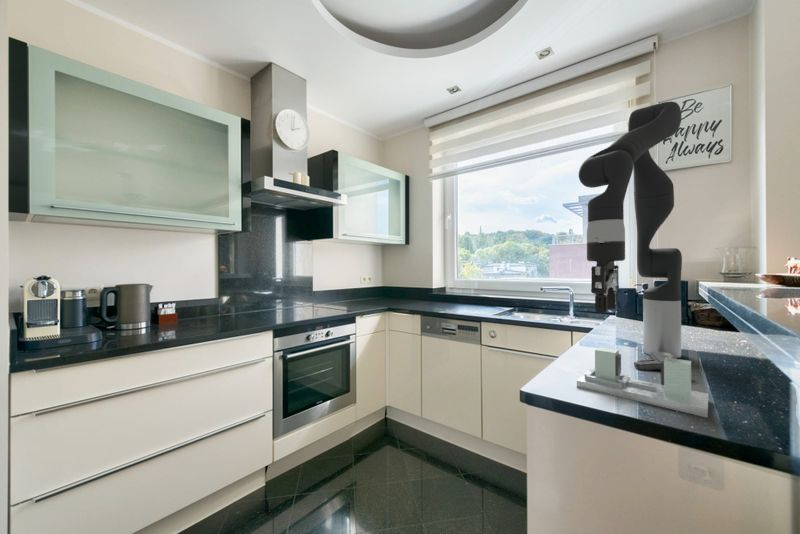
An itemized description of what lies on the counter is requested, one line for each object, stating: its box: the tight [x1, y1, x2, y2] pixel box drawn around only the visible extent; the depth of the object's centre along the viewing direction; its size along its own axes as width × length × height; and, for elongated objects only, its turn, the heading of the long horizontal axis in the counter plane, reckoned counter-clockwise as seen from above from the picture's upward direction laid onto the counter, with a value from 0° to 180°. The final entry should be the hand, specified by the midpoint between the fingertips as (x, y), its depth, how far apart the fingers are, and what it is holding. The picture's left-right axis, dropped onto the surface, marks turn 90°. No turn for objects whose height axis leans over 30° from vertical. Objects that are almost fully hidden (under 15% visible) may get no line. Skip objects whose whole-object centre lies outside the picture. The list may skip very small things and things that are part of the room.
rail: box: [576, 357, 709, 418], centre depth 70 cm, size 10×22×8 cm, turn 45°
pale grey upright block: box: [594, 346, 622, 381], centre depth 74 cm, size 4×4×7 cm
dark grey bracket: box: [633, 352, 677, 371], centre depth 88 cm, size 4×16×10 cm
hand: (605, 310), depth 75 cm, fingers open, 8 cm apart
